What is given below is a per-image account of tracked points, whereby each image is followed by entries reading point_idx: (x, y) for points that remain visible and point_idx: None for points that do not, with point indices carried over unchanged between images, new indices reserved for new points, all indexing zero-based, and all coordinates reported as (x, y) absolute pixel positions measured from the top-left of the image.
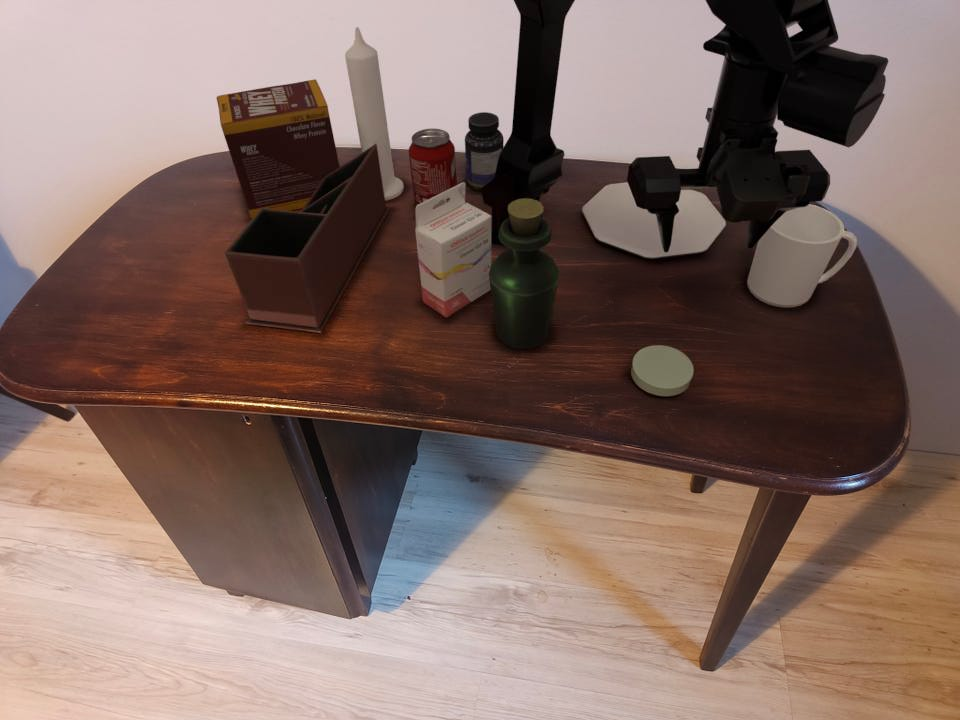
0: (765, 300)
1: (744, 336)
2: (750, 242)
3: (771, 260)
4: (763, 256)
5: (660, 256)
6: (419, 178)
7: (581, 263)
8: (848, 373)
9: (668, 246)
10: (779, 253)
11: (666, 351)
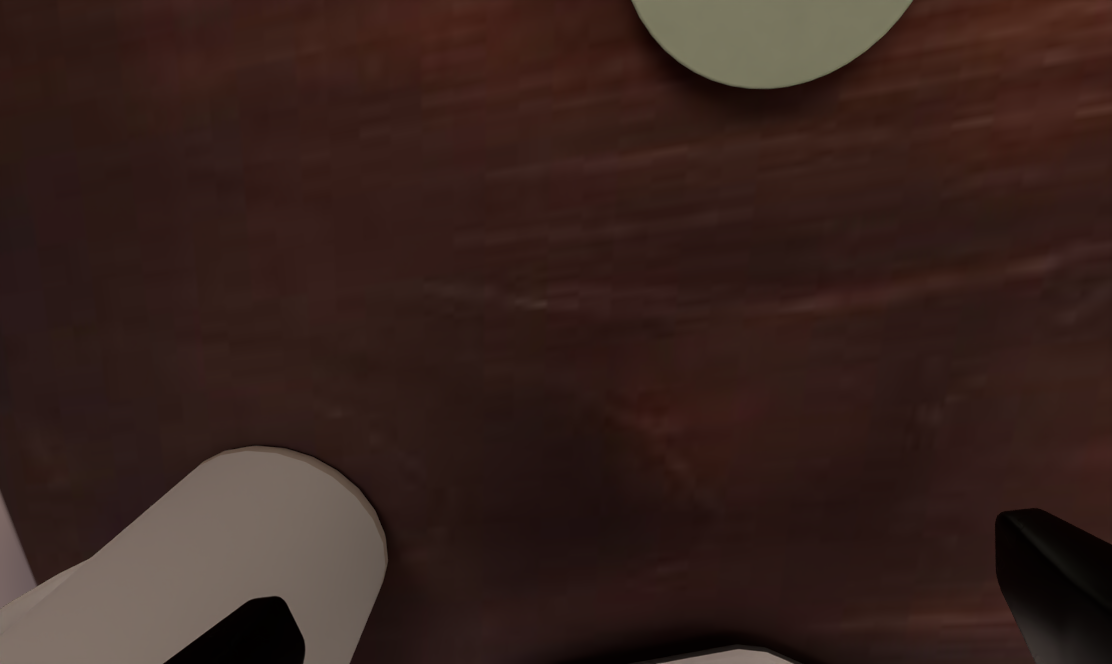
0: (321, 468)
1: (391, 279)
2: (245, 641)
3: None
4: None
5: (706, 656)
6: None
7: None
8: (17, 129)
9: (1064, 551)
10: None
11: (747, 44)
